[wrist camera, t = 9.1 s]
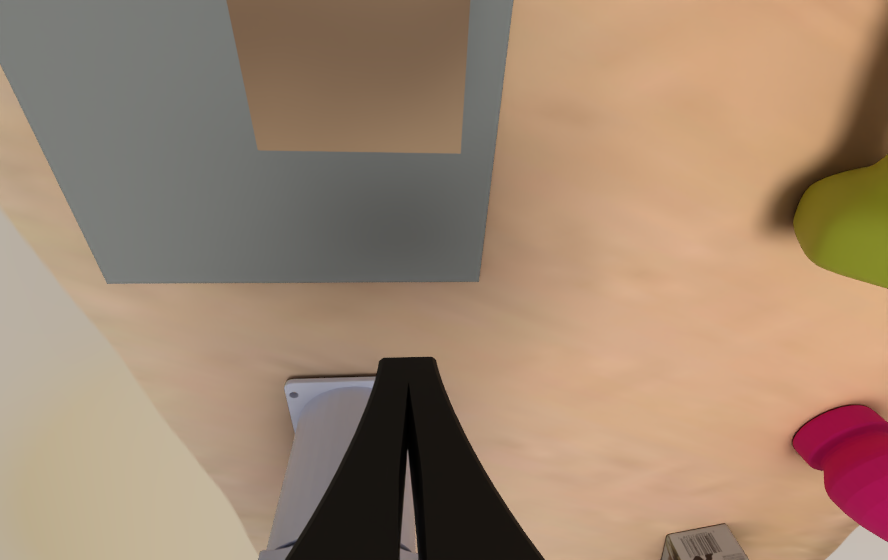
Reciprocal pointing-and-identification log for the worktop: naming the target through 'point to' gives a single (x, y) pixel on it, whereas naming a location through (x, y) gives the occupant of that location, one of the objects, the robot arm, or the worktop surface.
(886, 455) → the pepper mill
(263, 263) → the mat
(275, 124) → the walnut block
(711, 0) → the worktop surface
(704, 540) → the coffee box
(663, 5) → the worktop surface
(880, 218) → the dumbbell
